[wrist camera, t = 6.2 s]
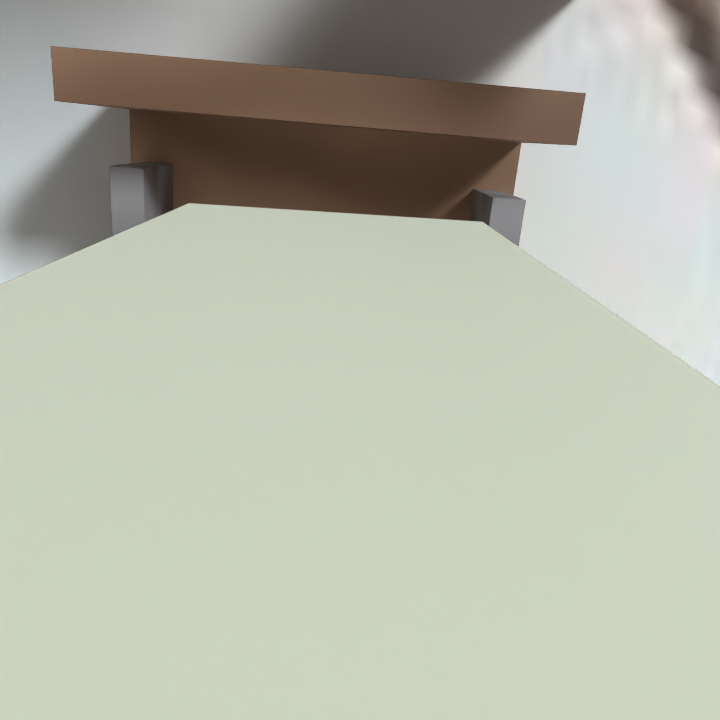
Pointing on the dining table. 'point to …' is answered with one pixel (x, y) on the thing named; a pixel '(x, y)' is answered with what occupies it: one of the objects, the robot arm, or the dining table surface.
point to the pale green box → (347, 482)
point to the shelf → (313, 138)
